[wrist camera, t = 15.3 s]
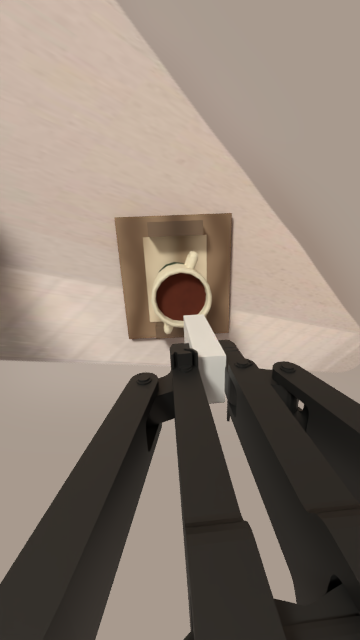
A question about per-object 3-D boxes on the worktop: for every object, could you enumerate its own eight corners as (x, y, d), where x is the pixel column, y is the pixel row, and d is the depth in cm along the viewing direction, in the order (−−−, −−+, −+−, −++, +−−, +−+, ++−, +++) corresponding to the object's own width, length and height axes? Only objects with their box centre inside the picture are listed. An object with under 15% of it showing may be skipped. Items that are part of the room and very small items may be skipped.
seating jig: (129, 336, 44) (126, 346, 40) (115, 218, 37) (110, 215, 33) (226, 330, 45) (232, 339, 41) (229, 213, 38) (237, 211, 34)
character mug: (184, 316, 42) (194, 349, 30) (145, 304, 41) (138, 333, 28) (207, 255, 39) (228, 264, 26) (165, 240, 38) (167, 241, 25)
